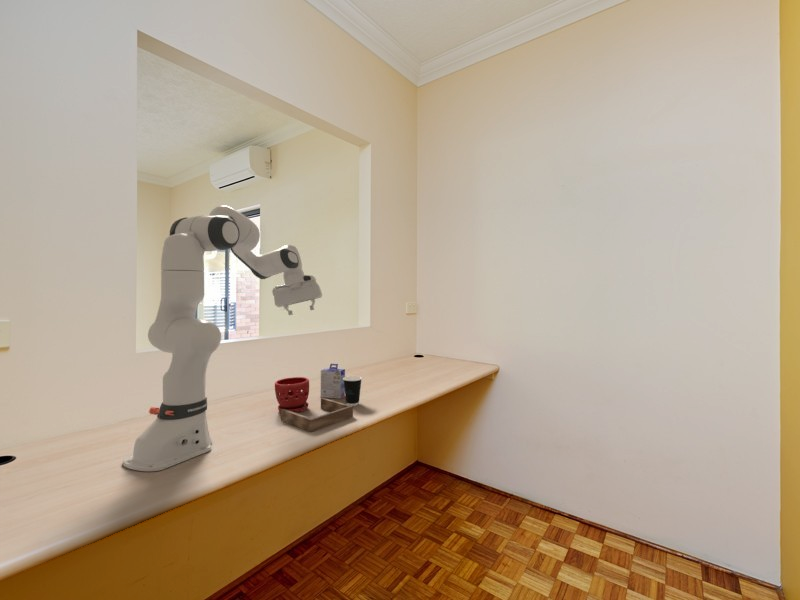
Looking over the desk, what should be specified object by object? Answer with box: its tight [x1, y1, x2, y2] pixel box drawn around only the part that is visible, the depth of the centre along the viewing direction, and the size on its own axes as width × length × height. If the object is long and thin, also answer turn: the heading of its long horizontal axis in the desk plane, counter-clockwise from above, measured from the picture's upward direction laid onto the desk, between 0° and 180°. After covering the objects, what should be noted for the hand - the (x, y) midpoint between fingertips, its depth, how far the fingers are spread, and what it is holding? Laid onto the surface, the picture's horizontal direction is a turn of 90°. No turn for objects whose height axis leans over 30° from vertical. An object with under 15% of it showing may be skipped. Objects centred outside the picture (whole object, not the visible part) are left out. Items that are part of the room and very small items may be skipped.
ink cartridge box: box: [319, 363, 346, 400], centre depth 164 cm, size 10×6×14 cm, turn 78°
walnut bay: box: [280, 397, 354, 433], centre depth 136 cm, size 17×19×4 cm
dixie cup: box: [343, 375, 363, 407], centre depth 154 cm, size 8×8×11 cm
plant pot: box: [274, 376, 310, 414], centre depth 146 cm, size 13×13×12 cm
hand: (301, 312), depth 159 cm, fingers open, 8 cm apart
